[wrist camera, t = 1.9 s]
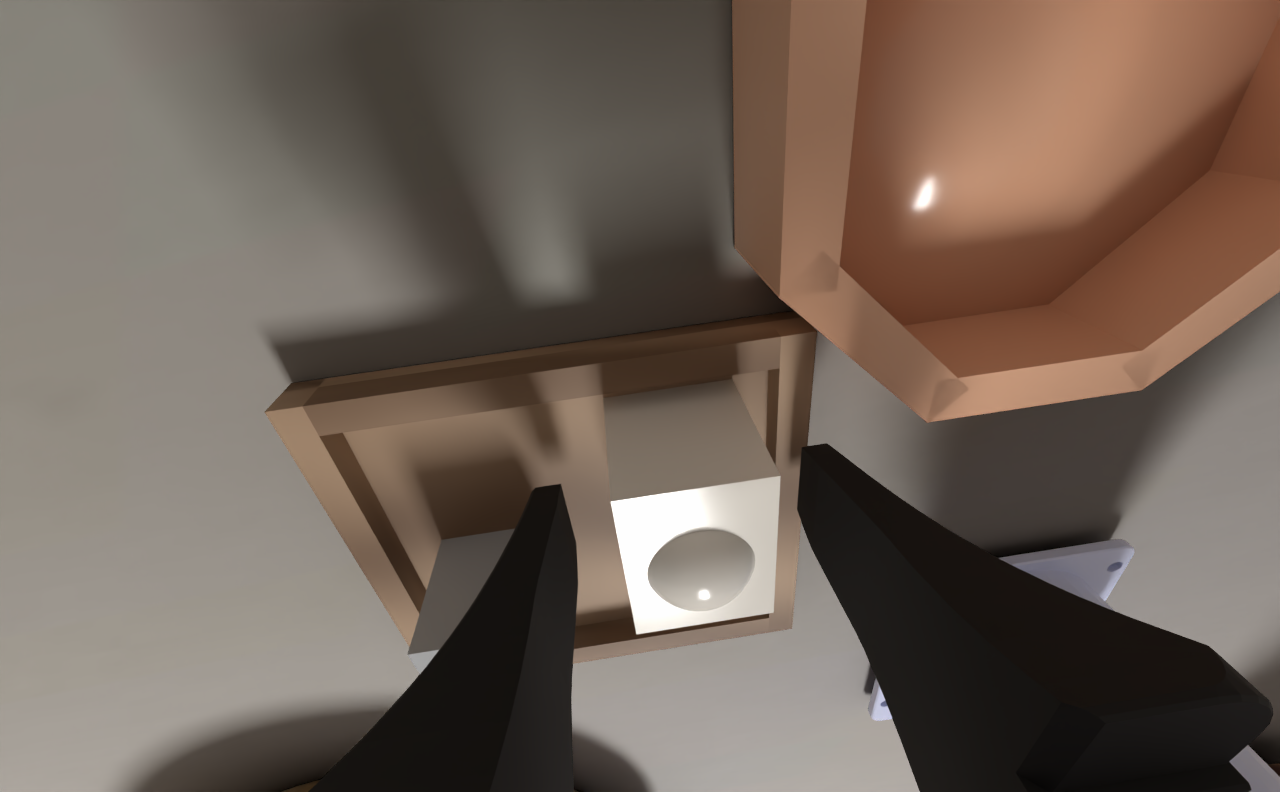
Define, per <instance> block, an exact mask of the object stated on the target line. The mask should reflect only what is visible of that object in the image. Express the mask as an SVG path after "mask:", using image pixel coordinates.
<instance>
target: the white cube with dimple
mask: <svg viewBox="0 0 1280 792" xmlns="http://www.w3.org/2000/svg"><path fill="white" fill-rule="evenodd" d="M514 530H515V529H509V530H503V531H496V532H490V533H483V534H477V535H470V536H464V537H457V538H450V539H444V540H441V543H440V547H439V550H438V553H437V557H436V560H435V564H434V567H433V570H432V574H431V577H430V580H429V584H428V587H427V590H426V594H425V597H424V601H423V604H422V607H421V611H420V614H419V617H418V621H417V624H416V627H415V631H414V634H413V638H412V641H411V644H410V648H409V651H408V654H407V655H408V656H409V658H410V660H411V661H412V663H413V664H414V666H415V668H416V669H417V671H418V672H419V674H421V672H422V671H423V670H424V669H425V667H426V666H427V665H428V664H429V662H430V661H431V660H432V658H433V657H434V656H435V655H436V653H437V652H438V651H439V649H440V648H441V647H442V646H443V644H444V643H445V642H446V640H447V639H448V638H449V636H450V635H451V634H452V632H453V631H454V629H455V628H456V627H457V625H458V624H459V622H460V621H461V620H462V618H463V617H464V615H465V614H466V612H467V611H468V609H469V608H470V606H471V605H472V603H473V602H474V600H475V599H476V597H477V595H478V594H479V592H480V590H481V589H482V587H483V585H484V584H485V582H486V581H487V579H488V577H489V576H490V574H491V572H492V571H493V569H494V567H495V565H496V564H497V562H498V560H499V558H500V556H501V554H502V553H503V551H504V549H505V547H506V545H507V543H508V541H509V539H510V538H511V536H512V534H513V532H514Z"/></svg>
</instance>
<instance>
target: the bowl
mask: <svg viewBox="0 0 1280 792" xmlns="http://www.w3.org/2000/svg"><path fill="white" fill-rule="evenodd" d="M732 41H733V136H734V231H735V246H734V248H735V249H736V250H737V251H738V253H739V254H740V255H741V256H742V257H743V258H744V259H745V260H746V262H747V263H748V264H749V265H750V266H751V267H752V268H753V269H754V271H755V272H756V273H757V274H758V275H759V276H760V277H761V278H762V280H763V281H764V282H765V283H766V284H767V285H768V286H769V287H770V289H771V290H772V291H773V292H774V293H775V294H776V295H777V296H778V297H779V299H781V300H783V301H784V302H785V303H786V304H787V305H789V306H790V307H791V308H792V309H793V310H794V311H796V312H797V313H798V314H799V315H800V316H802V317H803V318H804V319H805V320H806V321H807V322H809V323H810V324H811V325H812V326H813V327H815V328H816V329H817V330H818V331H819V332H821V333H822V334H823V335H824V336H825V337H826V338H828V339H829V340H830V341H831V342H832V343H834V344H835V345H836V346H837V347H838V348H839V349H841V350H842V351H843V352H844V353H845V354H847V355H848V356H849V357H850V358H851V359H853V360H854V361H855V362H856V363H857V364H858V365H860V366H861V367H862V368H863V369H864V370H866V371H867V372H868V373H869V374H870V375H872V376H873V377H874V378H875V379H876V380H877V381H879V382H880V383H881V384H882V385H883V386H885V387H886V388H887V389H888V390H889V391H890V392H892V393H893V394H894V395H895V396H896V397H898V398H899V399H900V400H901V401H902V402H904V403H905V404H906V405H907V406H908V407H909V408H911V409H912V410H913V411H914V412H915V413H917V414H918V415H919V416H920V417H921V418H922V419H924V420H925V421H926V422H927V423H929V422H934V421H941V420H947V419H954V418H960V417H967V416H974V415H980V414H987V413H994V412H1000V411H1007V410H1013V409H1020V408H1027V407H1033V406H1040V405H1047V404H1053V403H1060V402H1066V401H1073V400H1080V399H1086V398H1093V397H1099V396H1106V395H1113V394H1119V393H1126V392H1133V391H1139V390H1140V391H1141V390H1143V389H1144V388H1145V387H1147V386H1148V385H1150V384H1151V383H1152V382H1154V381H1155V380H1157V379H1158V378H1159V377H1161V376H1162V375H1164V374H1165V373H1166V372H1168V371H1169V370H1171V369H1172V368H1173V367H1175V366H1176V365H1178V364H1179V363H1180V362H1182V361H1183V360H1185V359H1186V358H1187V357H1189V356H1190V355H1192V354H1193V353H1194V352H1196V351H1197V350H1199V349H1200V348H1201V347H1203V346H1204V345H1206V344H1207V343H1208V342H1210V341H1211V340H1213V339H1214V338H1215V337H1217V336H1218V335H1220V334H1221V333H1222V332H1224V331H1225V330H1227V329H1228V328H1229V327H1231V326H1232V325H1234V324H1235V323H1236V322H1238V321H1239V320H1241V319H1242V318H1243V317H1245V316H1246V315H1248V314H1249V313H1250V312H1252V311H1253V310H1255V309H1256V308H1257V307H1259V306H1260V305H1262V304H1263V303H1264V302H1266V301H1267V300H1269V299H1270V298H1271V297H1273V296H1274V295H1276V294H1277V293H1278V292H1280V0H732Z"/></svg>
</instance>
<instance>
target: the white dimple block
mask: <svg viewBox="0 0 1280 792" xmlns="http://www.w3.org/2000/svg"><path fill="white" fill-rule="evenodd" d="M603 403H604V416H605V430H606V444H607V458H608V472H609V486H610V500H611V506H612V511H613V516H614V522H615V527H616V532H617V537H618V542H619V547H620V552H621V558H622V563H623V568H624V573H625V578H626V583H627V588H628V594H629V599H630V604H631V609H632V614H633V619H634V624H635V630H636V634H643V633H649V632H655V631H662V630H668V629H674V628H680V627H687V626H693V625H699V624H706V623H712V622H718V621H724V620H731V619H737V618H743V617H750V616H756V615H762V614H768V613H774V596H775V576H776V556H777V536H778V516H779V496H780V477H781V476H780V474H779V472H778V470H777V468H776V466H775V464H774V462H773V460H772V458H771V456H770V454H769V452H768V450H767V448H766V446H765V444H764V442H763V440H762V438H761V436H760V434H759V432H758V430H757V428H756V426H755V424H754V422H753V420H752V418H751V416H750V414H749V412H748V410H747V408H746V406H745V404H744V402H743V400H742V398H741V396H740V394H739V392H738V390H737V388H736V386H735V384H734V382H733V380H732V379H729V380H722V381H716V382H709V383H702V384H695V385H688V386H682V387H675V388H668V389H661V390H655V391H648V392H641V393H634V394H627V395H621V396H614V397H607V398H603Z"/></svg>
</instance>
